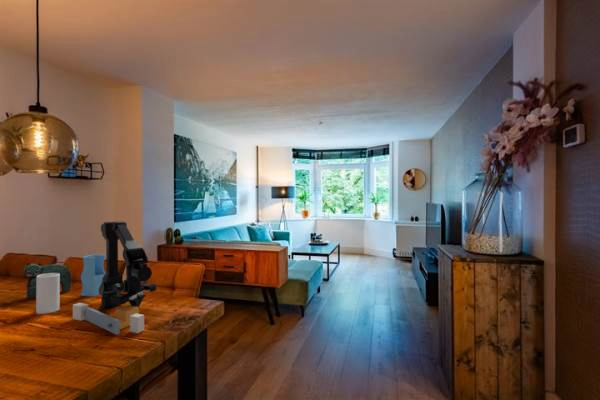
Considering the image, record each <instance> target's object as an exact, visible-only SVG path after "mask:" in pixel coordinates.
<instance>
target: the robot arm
mask: <svg viewBox="0 0 600 400" xmlns="http://www.w3.org/2000/svg"><path fill="white" fill-rule="evenodd" d="M100 232H101V235H102V237H103V238H104V240H105V244H106V245H105V248H106V249H105V251H106V252H105V255H106V256H105V258H106V264H105V265H106V271H105V275H104V277H103V278H102V283H101V285H100V287H99V294H100V296H101V301H100V303H101V304H100V305H99V308H101V309H102V308H103V309H108V310H109V309H113V308H115V307H116V308H117V307H118V306H121V305H123V304H126V303H129V305H131V306H136V307H139V308H140V306H141V305H142V302H143V300H144V298H146V297H147V295H146V294H144V292H147V291H149V292H150V293H152V292H155V291H157V285H156V284H155V283H148V282H146V281H148V280H150V279H151V277H152V275H153V271H152V269H151V268H150V267H148V263H149V261H148V260H149V258H148V255H147V253H146V252H145V249H144V247H143V246H142V245H141V244H140V243H138V242H136V241H135V239H134V237H133V236H132V234H131V232H130V231H129V229H128V226H127V222H126V221H125V220H124V221H121V220H120V221H119V220H118V221H104V222H103V223H102V224H101V225H100ZM119 242H120V243H121V246H122V248H123V250H122V254H121V255H122V259H123V260H124V262H125V263H124V265H125V277H126V278H125V279H124V280H123V278H124V277H123V275H122V274H121V273H120V272H119ZM143 282H146V283H144V284H143Z"/></svg>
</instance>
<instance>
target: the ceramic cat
mask: <svg viewBox="0 0 600 400" xmlns="http://www.w3.org/2000/svg"><path fill="white" fill-rule="evenodd" d="M43 258H45V259H47V260H49V258H48V257H46V256H42V257H40V258H39V261H38V263H30V262H27V263H26V265H25V266H24V268H23V274H24V276H25V277H27V278H28V279H27V284H26V297H27V299H28V300H31V299H35V298H36V281H37V276H38V275H41V274H47V273H59V274H60V286H61V292H62V293H69V292H70V291H71V285H72V274H71V272H70V270H69V265H68V264H67V263H66V262H64V261H63V262H62V261H55V262H51V263H49V264H46V265H45V264H42V263H41V259H43ZM63 264H64V265H63Z"/></svg>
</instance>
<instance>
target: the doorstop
mask: <svg viewBox="0 0 600 400" xmlns="http://www.w3.org/2000/svg"><path fill="white" fill-rule="evenodd" d="M139 308H140V306H139V307H136V306H131V304H127V305H124V306H122V307H119V308H117V309H115V311H114V312H115V313H114V315H115V316H114V318H115V319H118V320H120V330H122V329H124V328H127V327H130V316H131V315H134V314H136V313H137V314H140V309H139Z"/></svg>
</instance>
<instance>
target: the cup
mask: <svg viewBox="0 0 600 400" xmlns="http://www.w3.org/2000/svg"><path fill="white" fill-rule="evenodd" d="M60 286H61V284H60V274H59V273H47V274H41V275H38V276H37V281H36V299H35V301H36V302H35V304H36V306H35V308H36V309H35V311H36V312H35V313H36V314H39V315H40V314H41V315H44V314H50V313H51V314H52V313H55V312H58V311H59V310H60V301H61V300H60V289H61V287H60Z"/></svg>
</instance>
